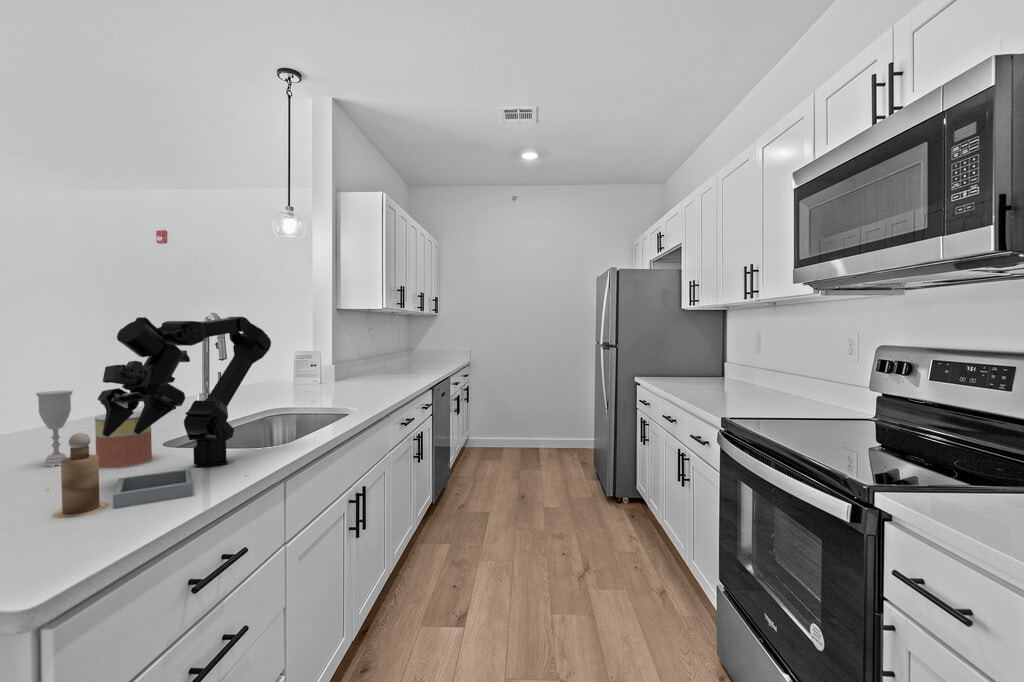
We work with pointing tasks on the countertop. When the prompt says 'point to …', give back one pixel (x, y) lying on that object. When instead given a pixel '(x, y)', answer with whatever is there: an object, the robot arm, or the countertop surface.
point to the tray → (152, 488)
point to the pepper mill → (80, 477)
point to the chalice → (54, 418)
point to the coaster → (59, 513)
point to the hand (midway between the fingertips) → (120, 434)
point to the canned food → (122, 444)
